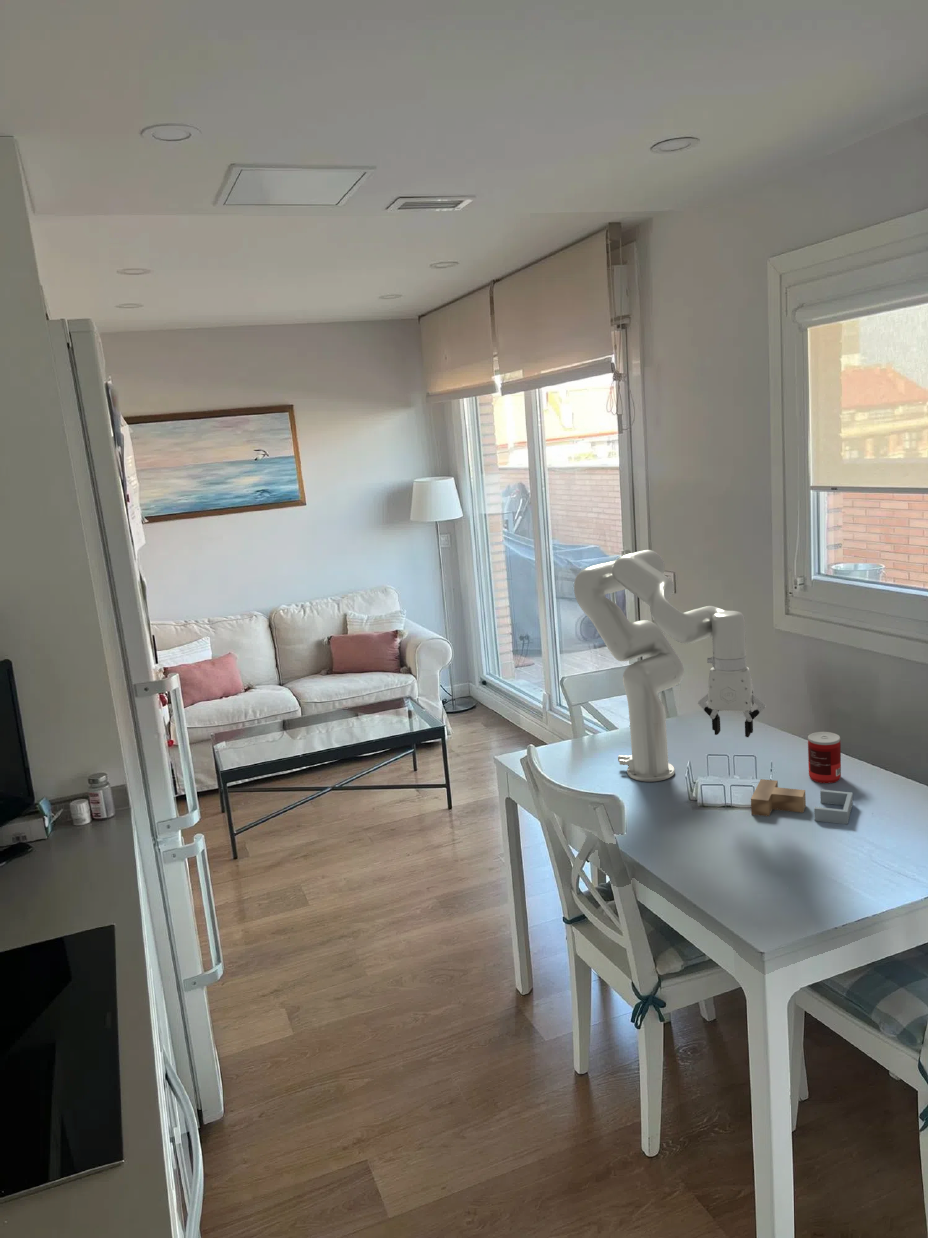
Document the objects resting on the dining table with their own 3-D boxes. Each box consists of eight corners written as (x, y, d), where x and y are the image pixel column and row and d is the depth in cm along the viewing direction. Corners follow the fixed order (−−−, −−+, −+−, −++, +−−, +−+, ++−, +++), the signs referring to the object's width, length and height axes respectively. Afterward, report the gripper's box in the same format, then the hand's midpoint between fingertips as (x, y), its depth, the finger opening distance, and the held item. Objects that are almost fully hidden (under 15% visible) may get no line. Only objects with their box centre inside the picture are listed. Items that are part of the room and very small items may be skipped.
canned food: (835, 770, 231) (834, 730, 229) (845, 783, 224) (844, 741, 221) (804, 772, 232) (803, 732, 230) (813, 784, 225) (812, 743, 222)
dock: (814, 820, 206) (814, 808, 205) (821, 801, 215) (820, 789, 215) (847, 824, 203) (847, 812, 202) (852, 804, 212) (852, 792, 211)
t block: (751, 814, 212) (750, 798, 212) (761, 794, 223) (760, 779, 222) (800, 820, 207) (799, 804, 206) (808, 799, 217) (807, 783, 216)
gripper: (689, 666, 213) (692, 736, 217) (764, 669, 205) (767, 742, 209) (697, 657, 220) (700, 726, 224) (770, 660, 211) (772, 731, 215)
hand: (732, 733), depth 216 cm, fingers open, 6 cm apart
